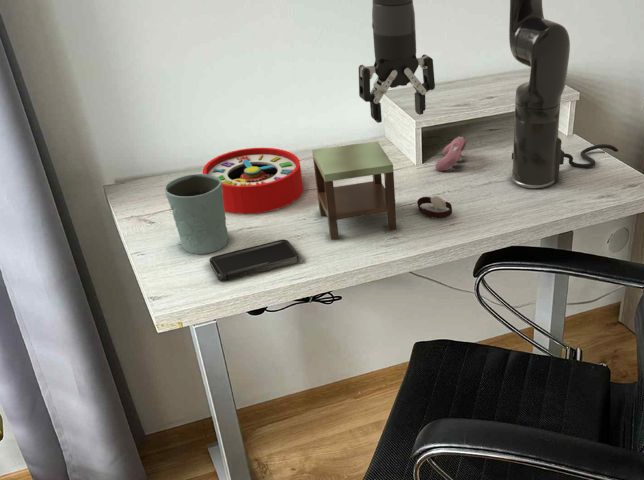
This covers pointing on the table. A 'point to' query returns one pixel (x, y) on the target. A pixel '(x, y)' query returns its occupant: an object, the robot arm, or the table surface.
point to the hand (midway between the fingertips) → (398, 117)
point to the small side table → (355, 196)
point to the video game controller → (451, 154)
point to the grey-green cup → (198, 212)
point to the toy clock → (257, 179)
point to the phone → (253, 260)
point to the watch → (438, 203)
